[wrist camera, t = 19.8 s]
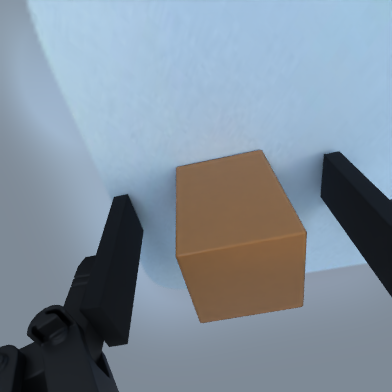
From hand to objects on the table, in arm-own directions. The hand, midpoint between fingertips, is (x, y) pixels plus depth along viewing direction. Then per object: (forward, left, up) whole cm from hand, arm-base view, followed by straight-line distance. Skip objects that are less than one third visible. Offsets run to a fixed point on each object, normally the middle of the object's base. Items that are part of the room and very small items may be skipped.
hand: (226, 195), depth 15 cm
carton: (0, 0, 0) cm, 0 cm away
